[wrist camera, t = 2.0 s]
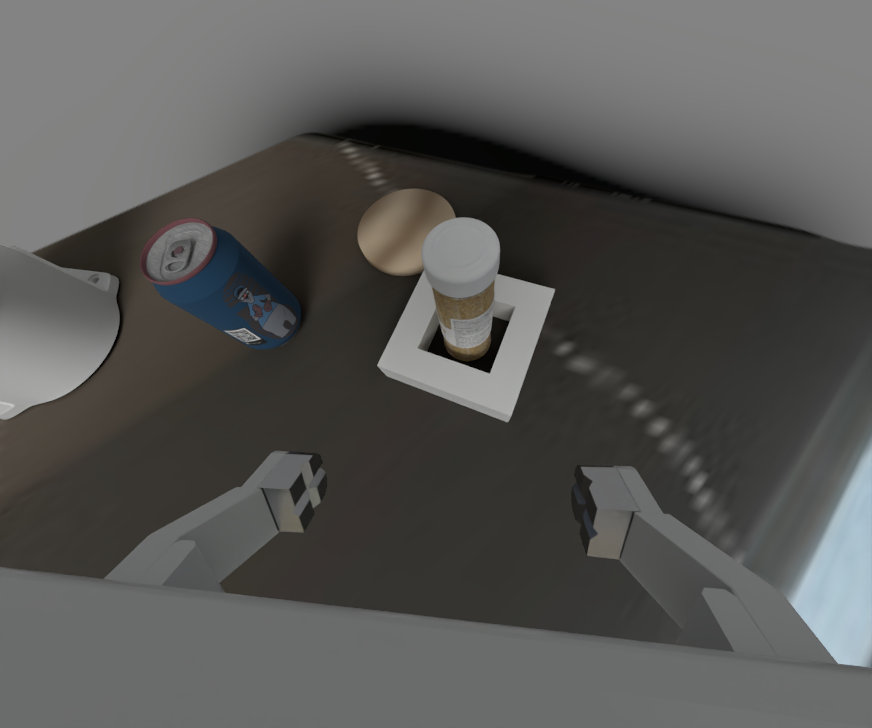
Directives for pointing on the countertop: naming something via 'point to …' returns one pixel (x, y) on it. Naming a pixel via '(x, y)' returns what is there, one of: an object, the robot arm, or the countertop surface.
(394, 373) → the collar
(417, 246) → the disc
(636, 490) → the robot arm
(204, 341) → the countertop surface
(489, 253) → the sprinkles bottle
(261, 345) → the soda can
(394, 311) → the countertop surface
